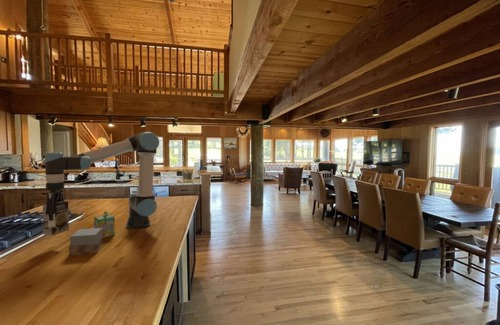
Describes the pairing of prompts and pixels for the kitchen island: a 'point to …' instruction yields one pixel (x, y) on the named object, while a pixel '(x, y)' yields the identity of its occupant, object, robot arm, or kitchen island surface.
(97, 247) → the tower base
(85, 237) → the grey flat block
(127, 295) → the kitchen island surface
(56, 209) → the coffee box
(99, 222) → the chalk box
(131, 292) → the kitchen island surface
